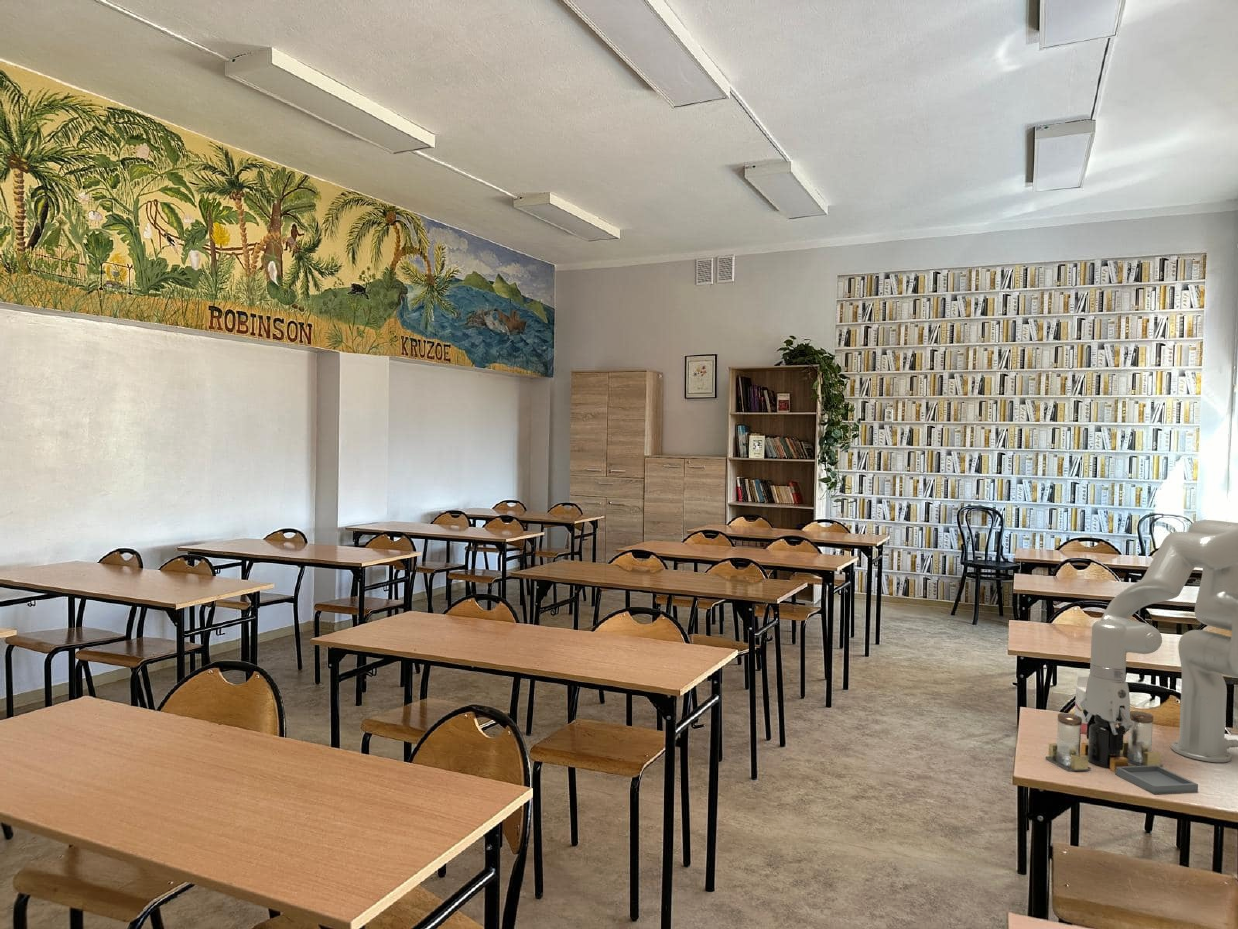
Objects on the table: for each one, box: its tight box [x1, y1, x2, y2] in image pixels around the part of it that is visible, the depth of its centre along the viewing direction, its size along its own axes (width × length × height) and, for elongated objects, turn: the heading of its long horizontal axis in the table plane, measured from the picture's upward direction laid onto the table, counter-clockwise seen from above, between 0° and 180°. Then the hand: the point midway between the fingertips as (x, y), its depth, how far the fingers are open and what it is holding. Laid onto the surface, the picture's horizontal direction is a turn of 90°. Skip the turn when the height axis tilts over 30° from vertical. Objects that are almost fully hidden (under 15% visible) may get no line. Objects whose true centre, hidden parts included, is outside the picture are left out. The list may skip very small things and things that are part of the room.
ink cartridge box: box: [1074, 675, 1089, 735], centre depth 228 cm, size 9×5×15 cm, turn 84°
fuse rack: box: [1045, 710, 1164, 773], centre depth 204 cm, size 26×11×12 cm, turn 100°
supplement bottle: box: [1087, 714, 1120, 768], centre depth 204 cm, size 7×7×12 cm
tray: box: [1114, 765, 1199, 795], centre depth 193 cm, size 11×11×2 cm
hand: (1104, 744), depth 204 cm, fingers closed on supplement bottle, 6 cm apart
